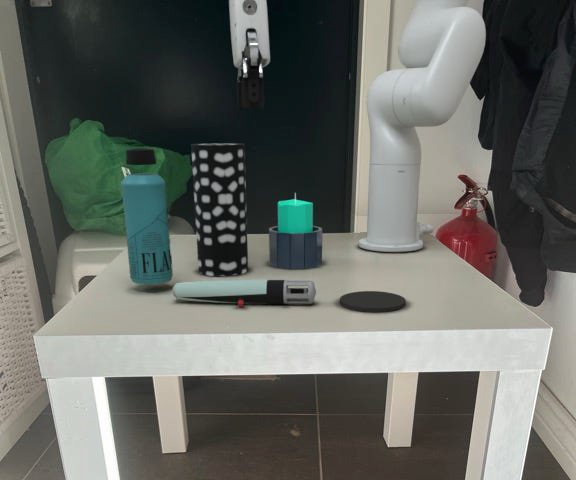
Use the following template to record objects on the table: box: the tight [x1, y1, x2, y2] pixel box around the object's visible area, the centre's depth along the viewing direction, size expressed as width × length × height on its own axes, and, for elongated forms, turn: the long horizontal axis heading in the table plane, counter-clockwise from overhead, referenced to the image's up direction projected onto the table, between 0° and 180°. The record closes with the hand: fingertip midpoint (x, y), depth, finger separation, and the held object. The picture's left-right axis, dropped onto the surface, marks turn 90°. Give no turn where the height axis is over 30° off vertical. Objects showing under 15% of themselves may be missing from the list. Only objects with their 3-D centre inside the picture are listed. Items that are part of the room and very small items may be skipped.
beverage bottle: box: [120, 147, 174, 285], centre depth 93 cm, size 6×7×20 cm
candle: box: [277, 192, 314, 233], centre depth 111 cm, size 6×6×12 cm
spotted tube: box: [190, 142, 249, 277], centre depth 104 cm, size 8×8×20 cm
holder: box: [268, 225, 323, 270], centre depth 112 cm, size 9×9×6 cm
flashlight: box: [171, 279, 317, 308], centre depth 88 cm, size 3×4×20 cm
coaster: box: [339, 290, 407, 313], centre depth 89 cm, size 9×9×1 cm
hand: (250, 108), depth 101 cm, fingers open, 9 cm apart
